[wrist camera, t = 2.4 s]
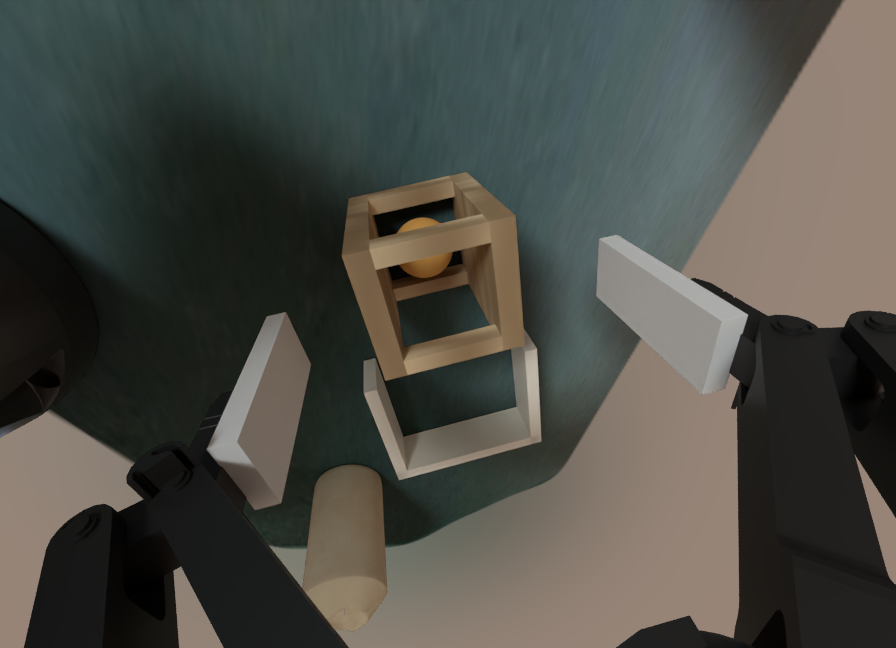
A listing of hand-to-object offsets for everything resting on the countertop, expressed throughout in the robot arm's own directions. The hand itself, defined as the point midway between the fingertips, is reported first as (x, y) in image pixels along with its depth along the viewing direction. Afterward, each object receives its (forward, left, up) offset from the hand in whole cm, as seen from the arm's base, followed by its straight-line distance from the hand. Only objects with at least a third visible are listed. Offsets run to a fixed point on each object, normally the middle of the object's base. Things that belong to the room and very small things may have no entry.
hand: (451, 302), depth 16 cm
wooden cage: (0, 0, -7) cm, 7 cm away
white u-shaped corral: (0, -12, -7) cm, 14 cm away
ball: (0, 0, -7) cm, 7 cm away
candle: (-11, -19, -8) cm, 24 cm away
